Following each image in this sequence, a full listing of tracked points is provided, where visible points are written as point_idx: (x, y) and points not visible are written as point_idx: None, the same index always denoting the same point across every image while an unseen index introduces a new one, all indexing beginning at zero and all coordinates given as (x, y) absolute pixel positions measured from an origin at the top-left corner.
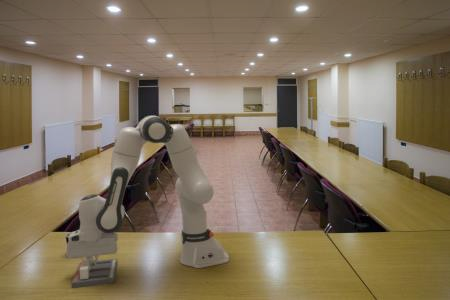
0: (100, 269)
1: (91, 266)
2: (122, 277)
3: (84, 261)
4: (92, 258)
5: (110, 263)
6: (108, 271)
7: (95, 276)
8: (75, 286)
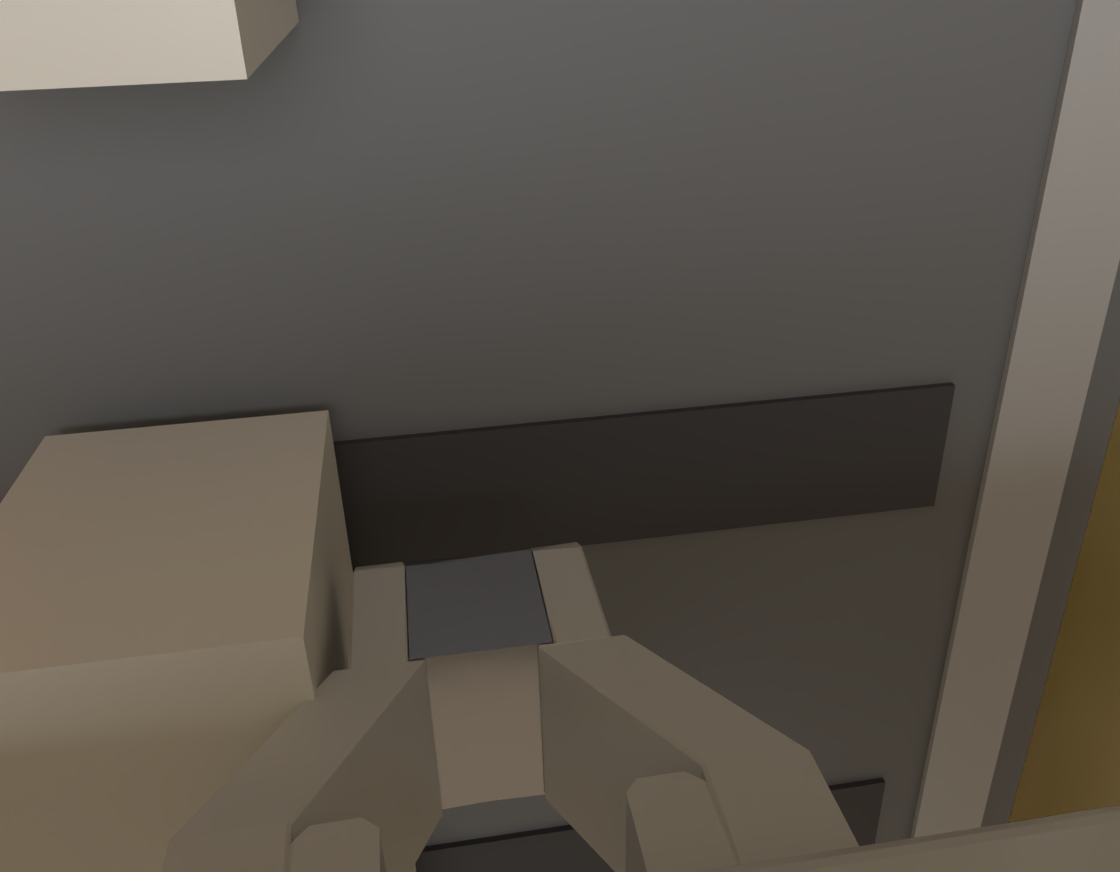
0: (672, 493)
1: (286, 169)
2: (1116, 633)
3: (80, 852)
4: (269, 23)
5: (1010, 18)
6: (896, 621)
7: (581, 848)
8: None
